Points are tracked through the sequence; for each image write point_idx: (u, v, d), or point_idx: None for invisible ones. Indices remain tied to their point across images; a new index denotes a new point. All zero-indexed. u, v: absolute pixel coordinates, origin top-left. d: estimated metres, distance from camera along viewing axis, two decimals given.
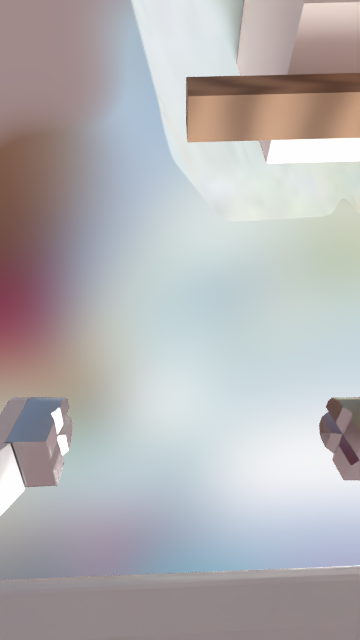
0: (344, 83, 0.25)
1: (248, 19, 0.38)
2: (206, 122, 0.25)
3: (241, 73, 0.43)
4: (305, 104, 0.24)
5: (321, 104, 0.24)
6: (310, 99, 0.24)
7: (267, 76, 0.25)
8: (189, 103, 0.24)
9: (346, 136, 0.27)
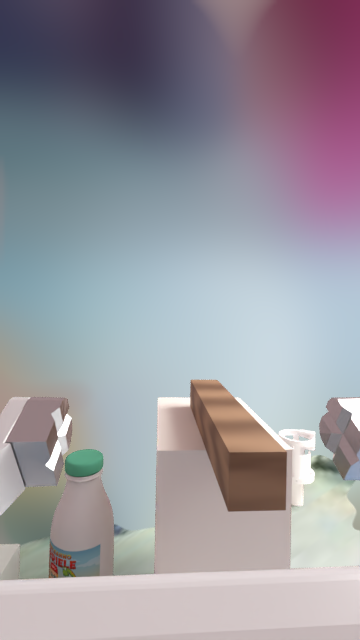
0: (199, 413, 0.31)
1: None
2: (253, 441, 0.20)
3: None
4: (213, 406, 0.27)
5: (211, 402, 0.29)
6: (209, 406, 0.28)
7: (209, 456, 0.25)
8: (237, 451, 0.18)
9: (230, 394, 0.32)
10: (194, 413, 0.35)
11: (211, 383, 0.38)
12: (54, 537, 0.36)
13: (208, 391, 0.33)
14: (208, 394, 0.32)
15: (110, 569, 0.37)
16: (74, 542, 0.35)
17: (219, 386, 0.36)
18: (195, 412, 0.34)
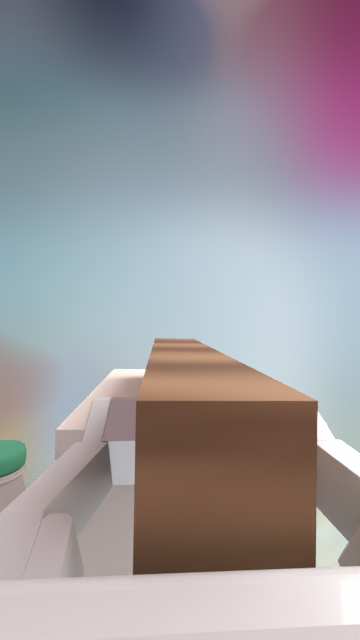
0: None
1: None
2: (221, 383, 0.07)
3: None
4: (166, 351, 0.15)
5: (167, 349, 0.16)
6: (159, 351, 0.15)
7: None
8: (162, 399, 0.06)
9: (204, 345, 0.20)
10: None
11: (183, 340, 0.26)
12: None
13: (172, 343, 0.21)
14: None
15: None
16: None
17: (193, 341, 0.24)
18: None
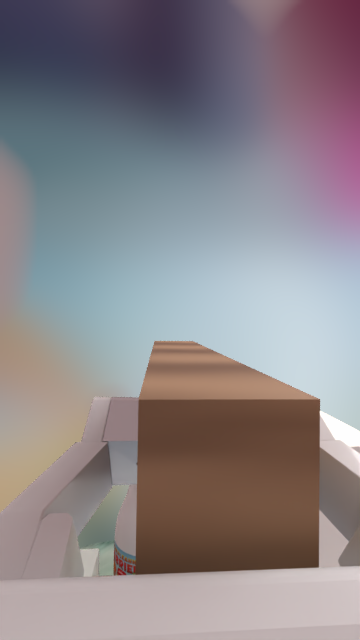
0: None
1: None
2: (223, 383, 0.07)
3: None
4: (166, 353, 0.15)
5: (167, 351, 0.16)
6: (159, 353, 0.15)
7: None
8: (165, 398, 0.06)
9: (204, 347, 0.20)
10: None
11: (182, 342, 0.25)
12: (121, 542, 0.34)
13: (171, 345, 0.21)
14: (169, 347, 0.20)
15: None
16: None
17: None
18: None
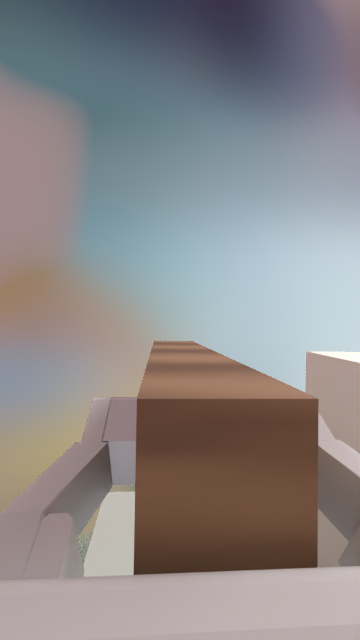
0: None
1: None
2: (222, 382, 0.07)
3: None
4: (166, 353, 0.15)
5: (166, 351, 0.16)
6: (158, 352, 0.15)
7: None
8: (163, 397, 0.06)
9: (204, 347, 0.20)
10: None
11: (181, 342, 0.25)
12: None
13: (171, 345, 0.21)
14: (168, 347, 0.20)
15: None
16: None
17: None
18: None
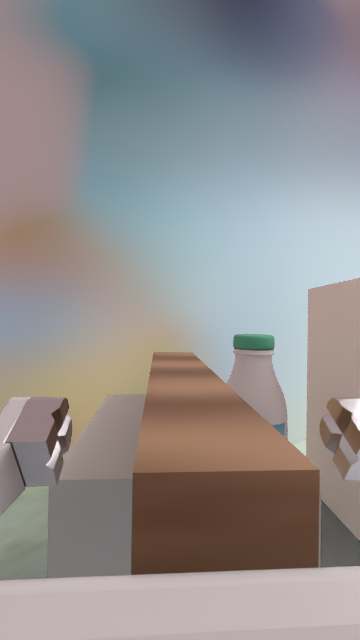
0: None
1: None
2: (221, 437, 0.07)
3: None
4: (164, 377, 0.15)
5: (165, 373, 0.16)
6: (157, 376, 0.15)
7: None
8: (160, 469, 0.06)
9: (203, 365, 0.20)
10: None
11: (181, 355, 0.25)
12: None
13: (170, 361, 0.21)
14: (168, 364, 0.20)
15: None
16: (262, 416, 0.31)
17: (191, 357, 0.24)
18: None
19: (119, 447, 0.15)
